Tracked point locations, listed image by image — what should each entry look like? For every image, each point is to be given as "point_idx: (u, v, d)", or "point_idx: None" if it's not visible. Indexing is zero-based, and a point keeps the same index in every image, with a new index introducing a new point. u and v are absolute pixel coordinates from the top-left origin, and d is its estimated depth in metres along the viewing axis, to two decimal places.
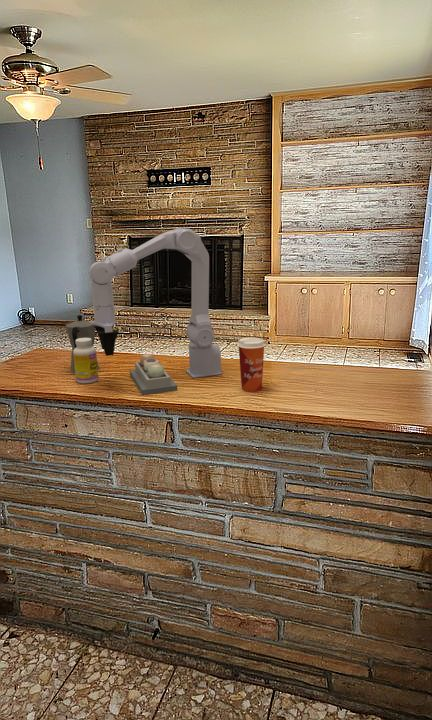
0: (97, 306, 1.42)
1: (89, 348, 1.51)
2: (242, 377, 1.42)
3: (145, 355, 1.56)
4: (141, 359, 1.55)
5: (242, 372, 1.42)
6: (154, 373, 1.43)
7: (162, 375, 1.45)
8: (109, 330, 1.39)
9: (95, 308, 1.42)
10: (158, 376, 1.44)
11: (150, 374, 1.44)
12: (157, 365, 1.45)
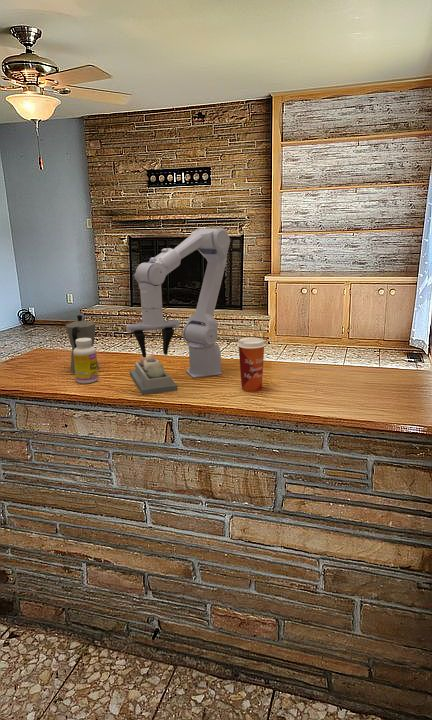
0: None
1: (89, 348, 1.51)
2: (242, 377, 1.42)
3: None
4: (141, 359, 1.55)
5: (242, 372, 1.42)
6: (154, 373, 1.43)
7: (162, 375, 1.45)
8: (127, 330, 1.39)
9: None
10: (158, 376, 1.44)
11: (150, 374, 1.44)
12: (157, 365, 1.45)
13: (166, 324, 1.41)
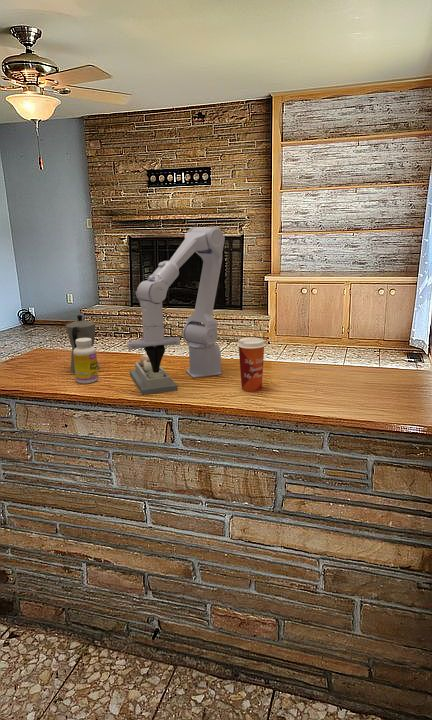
0: None
1: (89, 348, 1.51)
2: (242, 377, 1.42)
3: (145, 355, 1.56)
4: (141, 359, 1.55)
5: (242, 372, 1.42)
6: None
7: None
8: (128, 347, 1.41)
9: None
10: None
11: None
12: None
13: (167, 341, 1.42)
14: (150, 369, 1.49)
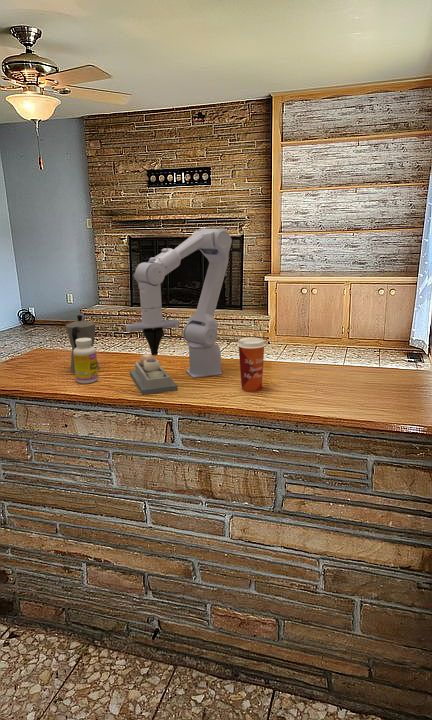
0: None
1: (89, 348, 1.51)
2: (242, 377, 1.42)
3: (145, 355, 1.56)
4: (141, 359, 1.55)
5: (242, 372, 1.42)
6: None
7: None
8: (126, 330, 1.40)
9: None
10: None
11: None
12: (157, 372, 1.46)
13: (165, 323, 1.42)
14: (150, 369, 1.49)
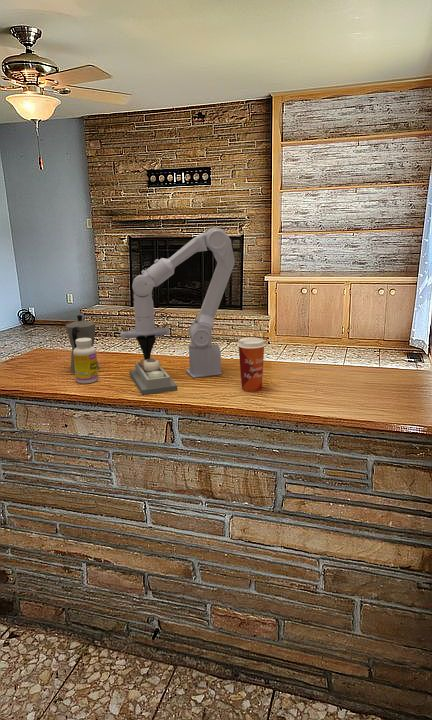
0: None
1: (89, 348, 1.51)
2: (242, 377, 1.42)
3: None
4: (141, 364, 1.55)
5: (242, 372, 1.42)
6: None
7: None
8: (121, 337, 1.52)
9: None
10: None
11: None
12: (157, 372, 1.46)
13: (157, 331, 1.53)
14: (150, 369, 1.49)
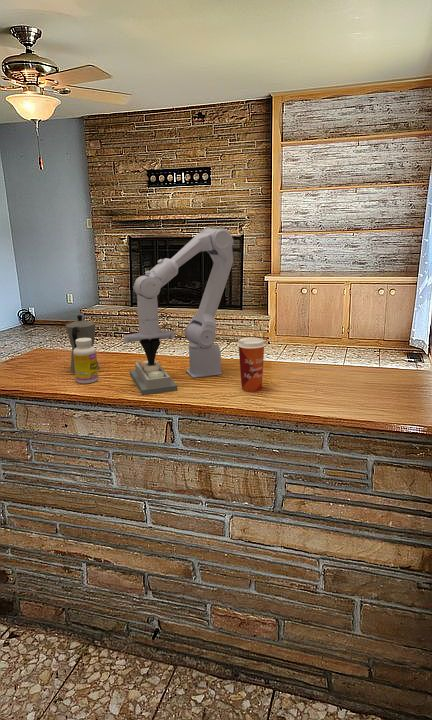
0: None
1: (89, 348, 1.51)
2: (242, 377, 1.42)
3: (145, 361, 1.56)
4: (141, 365, 1.55)
5: (242, 372, 1.42)
6: None
7: None
8: (124, 340, 1.46)
9: None
10: None
11: None
12: (157, 372, 1.46)
13: (162, 334, 1.47)
14: None
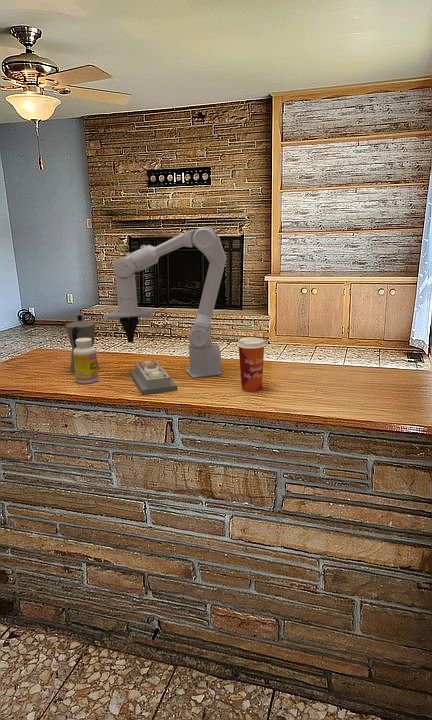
0: None
1: (89, 348, 1.51)
2: (242, 377, 1.42)
3: (145, 361, 1.56)
4: (141, 365, 1.55)
5: (242, 372, 1.42)
6: None
7: None
8: (104, 319, 1.53)
9: None
10: None
11: None
12: (157, 372, 1.46)
13: (140, 313, 1.54)
14: None
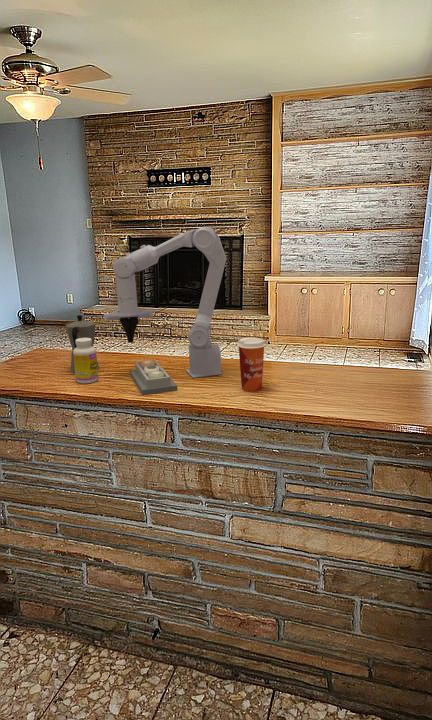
0: None
1: (89, 348, 1.51)
2: (242, 377, 1.42)
3: (145, 361, 1.56)
4: (141, 365, 1.55)
5: (242, 372, 1.42)
6: None
7: None
8: (104, 319, 1.53)
9: None
10: None
11: None
12: (157, 372, 1.46)
13: (140, 313, 1.54)
14: None
